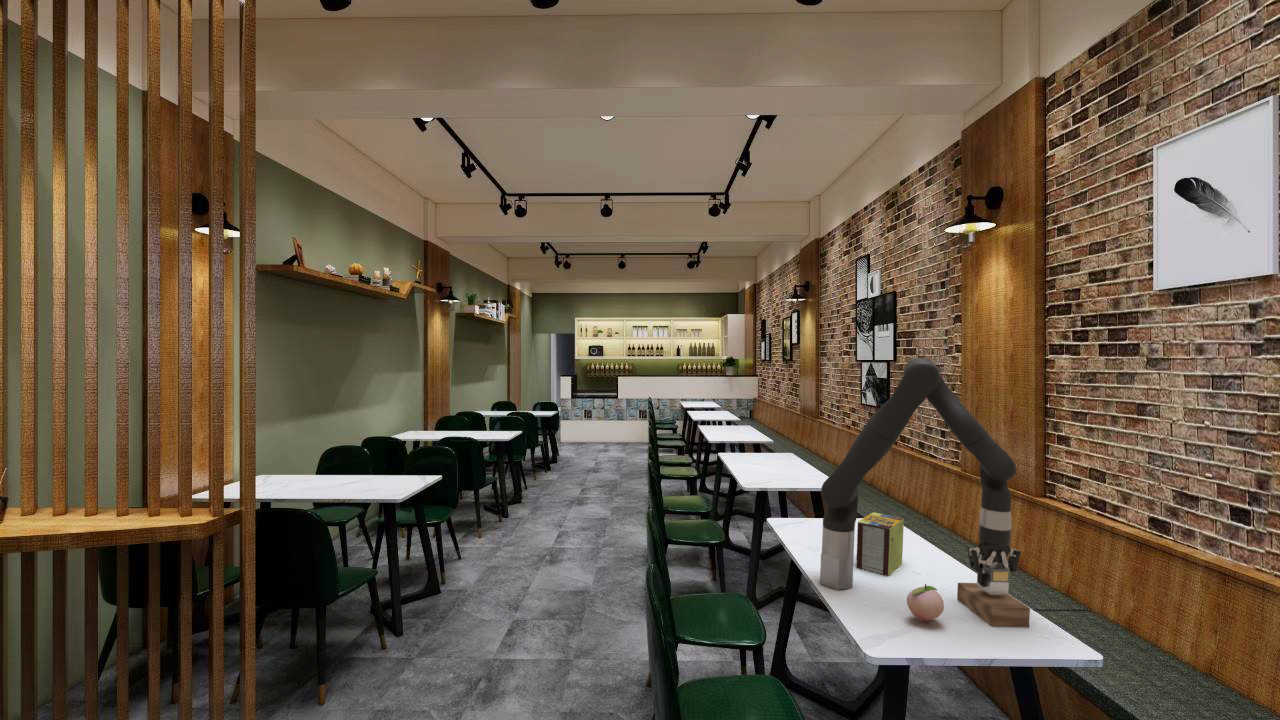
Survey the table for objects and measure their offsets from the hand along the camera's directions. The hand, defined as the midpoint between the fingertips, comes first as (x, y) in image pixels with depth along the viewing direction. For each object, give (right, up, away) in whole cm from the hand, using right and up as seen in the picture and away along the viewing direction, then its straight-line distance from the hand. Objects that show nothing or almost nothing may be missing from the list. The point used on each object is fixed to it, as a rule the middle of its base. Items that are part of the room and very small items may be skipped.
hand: (992, 585), depth 161 cm
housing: (0, -1, 0) cm, 1 cm away
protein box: (-18, -6, +33) cm, 38 cm away
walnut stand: (0, -7, 0) cm, 7 cm away
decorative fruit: (-22, -7, -6) cm, 24 cm away
